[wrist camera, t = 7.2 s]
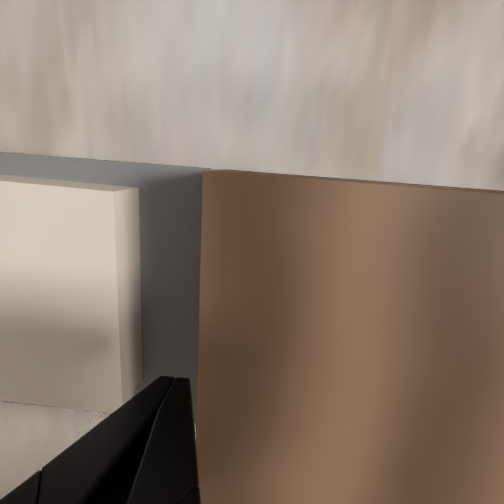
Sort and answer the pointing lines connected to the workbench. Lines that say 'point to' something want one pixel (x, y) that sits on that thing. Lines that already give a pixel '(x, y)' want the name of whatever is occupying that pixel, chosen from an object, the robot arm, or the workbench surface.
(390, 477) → the plate
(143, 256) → the mat
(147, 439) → the robot arm
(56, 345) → the cream rectangular block
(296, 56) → the workbench surface
